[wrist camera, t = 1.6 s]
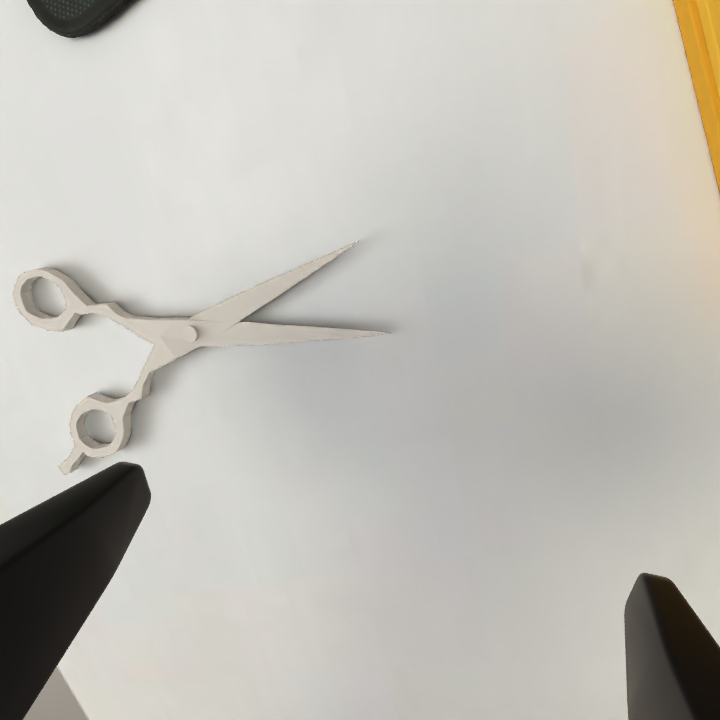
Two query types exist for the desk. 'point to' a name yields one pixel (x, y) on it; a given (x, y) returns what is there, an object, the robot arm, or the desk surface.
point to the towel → (704, 64)
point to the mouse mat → (75, 14)
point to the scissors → (167, 340)
